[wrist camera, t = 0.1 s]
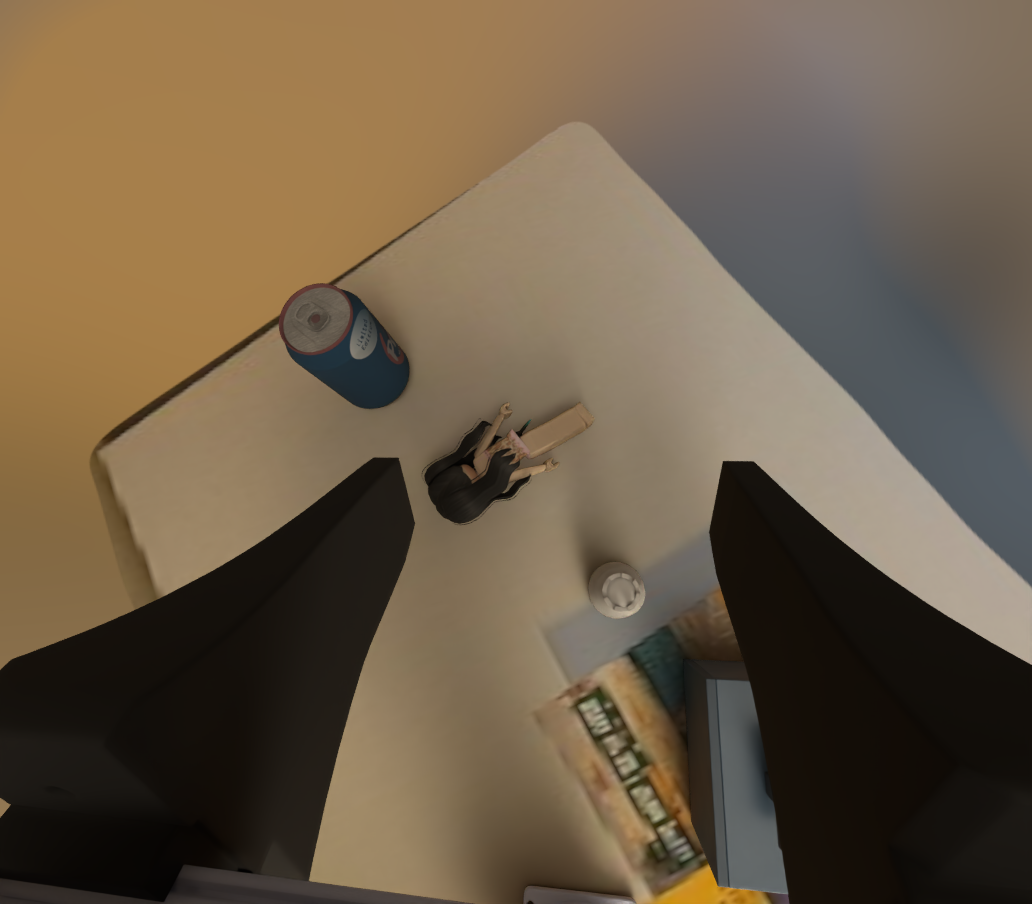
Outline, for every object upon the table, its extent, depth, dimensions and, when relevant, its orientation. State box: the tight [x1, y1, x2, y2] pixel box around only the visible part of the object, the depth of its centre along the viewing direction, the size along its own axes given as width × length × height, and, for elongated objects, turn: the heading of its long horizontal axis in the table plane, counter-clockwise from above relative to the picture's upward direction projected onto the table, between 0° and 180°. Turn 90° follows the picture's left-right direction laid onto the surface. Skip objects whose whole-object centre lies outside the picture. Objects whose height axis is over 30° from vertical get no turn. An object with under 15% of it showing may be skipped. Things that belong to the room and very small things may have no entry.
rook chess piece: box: [588, 562, 645, 619], centre depth 37 cm, size 4×4×8 cm
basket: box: [683, 659, 788, 894], centre depth 32 cm, size 11×11×6 cm
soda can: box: [279, 283, 409, 409], centre depth 43 cm, size 7×7×12 cm
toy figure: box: [422, 402, 594, 525], centre depth 42 cm, size 7×6×15 cm
